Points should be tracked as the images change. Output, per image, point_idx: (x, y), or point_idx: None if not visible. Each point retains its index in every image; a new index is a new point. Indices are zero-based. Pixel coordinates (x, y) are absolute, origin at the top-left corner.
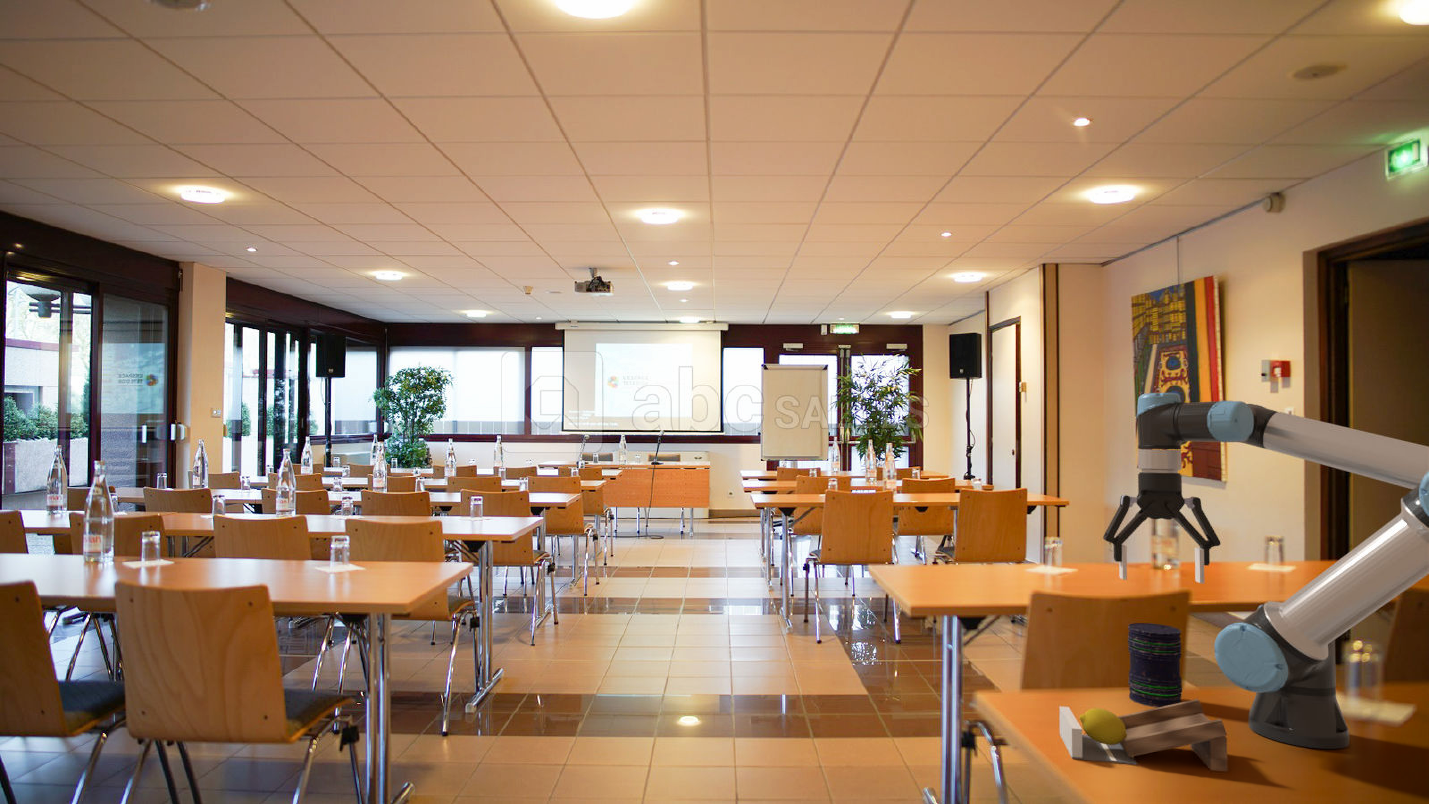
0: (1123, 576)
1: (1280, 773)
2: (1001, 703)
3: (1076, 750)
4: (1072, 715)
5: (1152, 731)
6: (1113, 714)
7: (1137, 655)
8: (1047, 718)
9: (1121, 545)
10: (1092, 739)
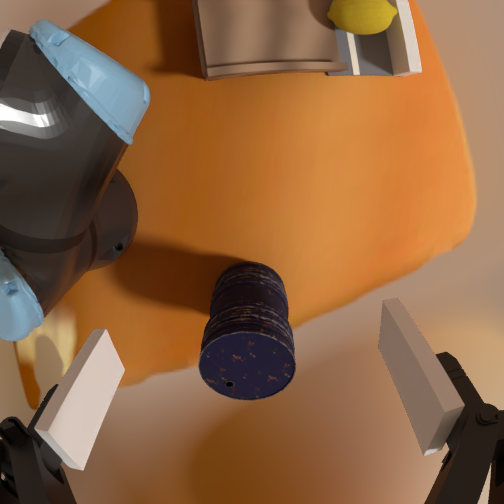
0: (400, 305)
1: (135, 35)
2: (460, 194)
3: None
4: (405, 31)
5: (289, 30)
6: (353, 3)
7: (281, 313)
8: (415, 143)
9: (460, 418)
10: (364, 57)
